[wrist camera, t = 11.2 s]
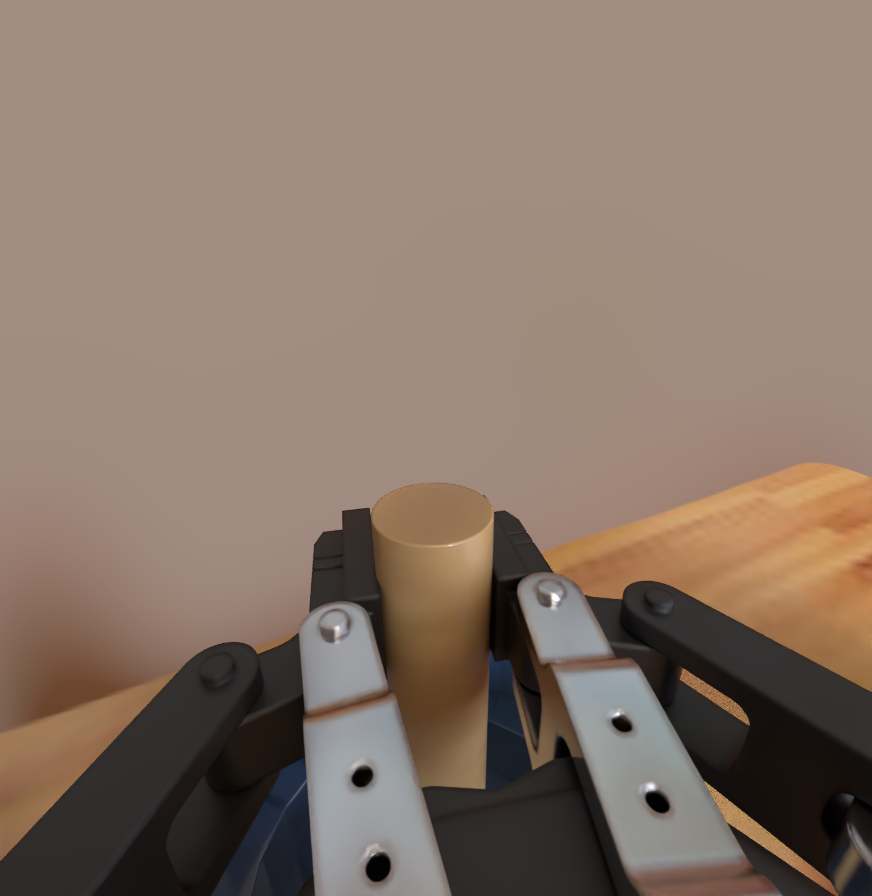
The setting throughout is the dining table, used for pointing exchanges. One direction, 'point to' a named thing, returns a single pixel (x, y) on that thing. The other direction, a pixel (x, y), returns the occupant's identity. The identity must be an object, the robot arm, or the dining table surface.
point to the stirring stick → (438, 623)
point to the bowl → (287, 807)
